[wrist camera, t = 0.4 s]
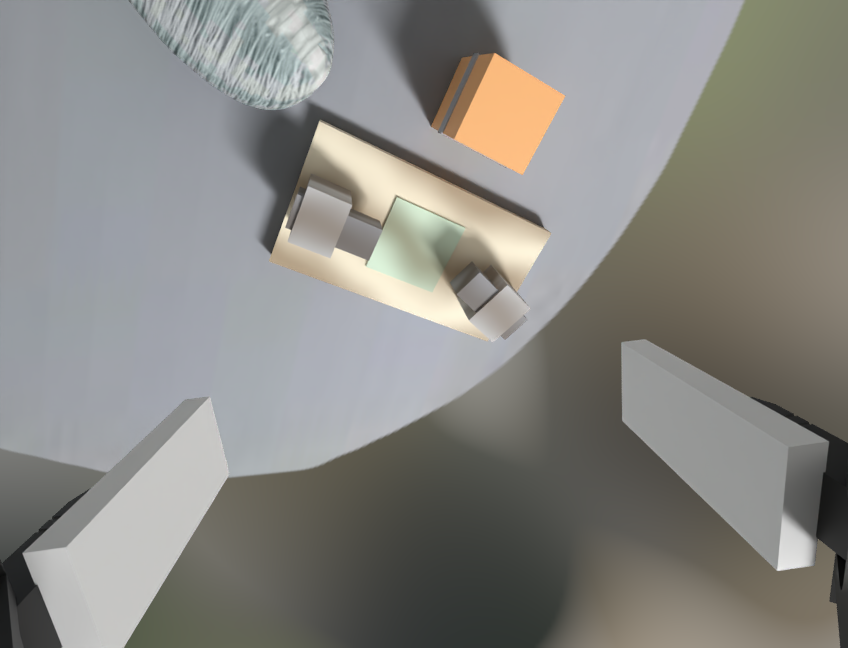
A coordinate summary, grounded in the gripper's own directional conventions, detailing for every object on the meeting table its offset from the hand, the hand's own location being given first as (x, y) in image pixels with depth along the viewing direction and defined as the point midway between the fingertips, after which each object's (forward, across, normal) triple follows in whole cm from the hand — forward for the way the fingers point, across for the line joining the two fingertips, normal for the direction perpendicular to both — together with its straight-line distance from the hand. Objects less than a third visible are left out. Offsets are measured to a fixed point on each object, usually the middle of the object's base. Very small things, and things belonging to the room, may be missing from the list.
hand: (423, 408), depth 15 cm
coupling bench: (+26, +1, +3) cm, 26 cm away
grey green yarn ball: (+21, -8, +20) cm, 30 cm away
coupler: (+24, +7, +12) cm, 28 cm away
